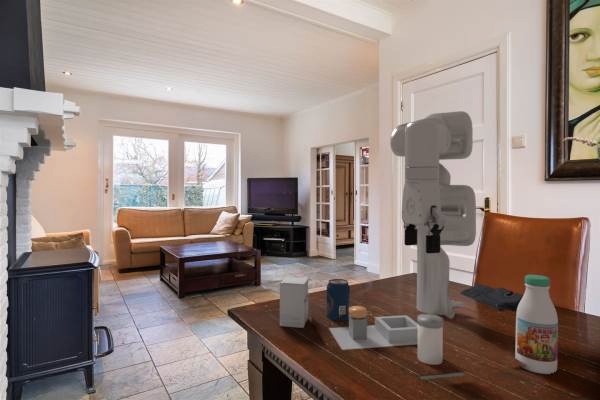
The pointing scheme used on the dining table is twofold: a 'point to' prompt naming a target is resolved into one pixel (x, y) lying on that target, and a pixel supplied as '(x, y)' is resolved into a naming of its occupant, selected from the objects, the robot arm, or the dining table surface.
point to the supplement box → (294, 302)
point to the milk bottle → (537, 327)
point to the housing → (377, 333)
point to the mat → (441, 375)
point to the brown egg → (357, 312)
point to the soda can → (338, 299)
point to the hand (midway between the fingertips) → (421, 248)
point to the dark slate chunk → (494, 297)
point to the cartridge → (430, 338)
